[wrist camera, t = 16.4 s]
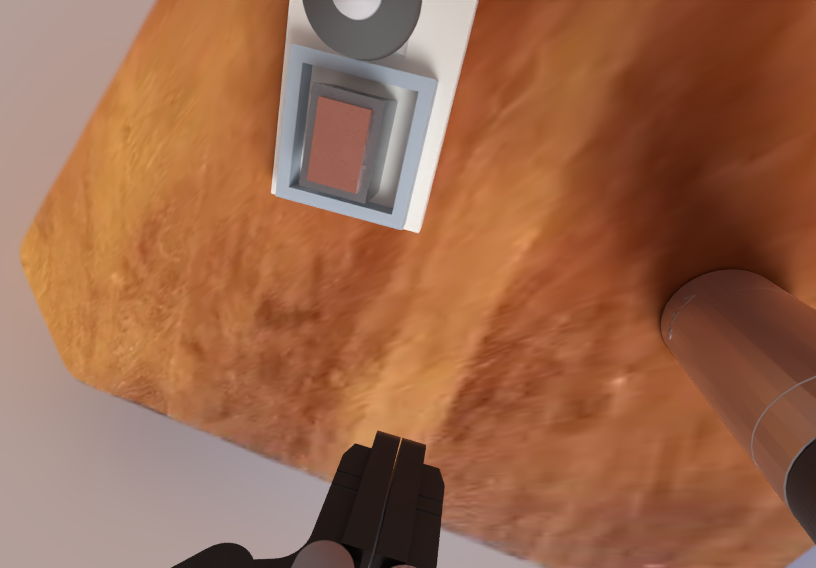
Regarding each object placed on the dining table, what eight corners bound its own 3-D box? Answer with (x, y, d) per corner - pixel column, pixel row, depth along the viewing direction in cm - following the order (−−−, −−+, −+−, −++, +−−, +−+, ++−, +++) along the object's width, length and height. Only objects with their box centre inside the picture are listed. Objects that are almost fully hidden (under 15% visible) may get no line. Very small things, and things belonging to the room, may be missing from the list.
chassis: (481, -13, 31) (481, -36, 26) (421, 226, 38) (412, 245, 33) (306, -55, 31) (273, -85, 26) (281, 188, 39) (251, 202, 34)
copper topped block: (397, 101, 32) (383, 101, 28) (378, 192, 35) (363, 205, 31) (334, 84, 33) (309, 81, 28) (320, 175, 36) (296, 187, 31)
